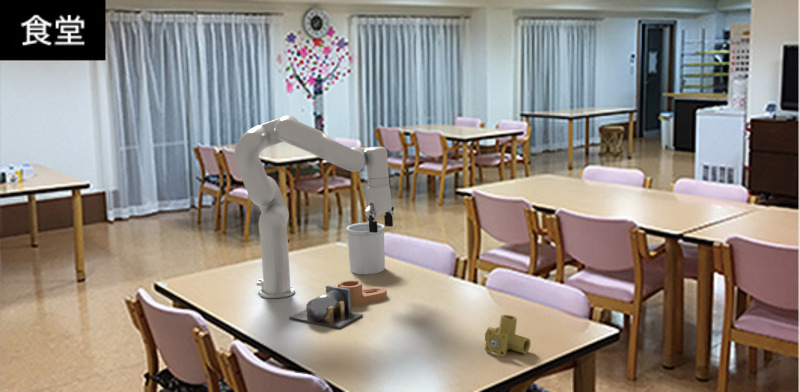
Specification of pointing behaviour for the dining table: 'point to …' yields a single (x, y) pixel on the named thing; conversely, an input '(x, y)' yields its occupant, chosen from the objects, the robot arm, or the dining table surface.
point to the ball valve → (505, 337)
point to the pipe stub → (329, 309)
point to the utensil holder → (366, 249)
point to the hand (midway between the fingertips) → (381, 229)
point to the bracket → (363, 292)
